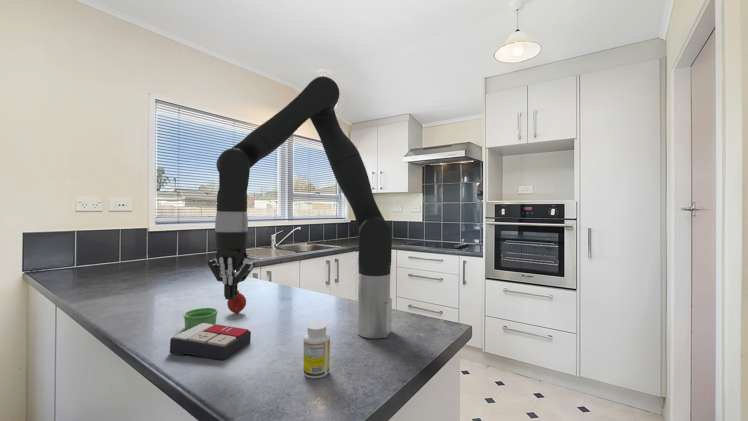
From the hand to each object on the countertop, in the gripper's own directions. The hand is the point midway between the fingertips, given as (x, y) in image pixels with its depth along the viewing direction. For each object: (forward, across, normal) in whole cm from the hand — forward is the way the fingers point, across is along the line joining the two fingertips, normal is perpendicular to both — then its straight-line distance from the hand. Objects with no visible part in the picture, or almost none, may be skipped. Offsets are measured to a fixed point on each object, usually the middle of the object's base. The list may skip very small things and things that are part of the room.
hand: (230, 298), depth 81 cm
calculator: (+11, -3, 0) cm, 11 cm away
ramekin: (+13, +19, -10) cm, 25 cm away
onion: (+13, +17, -23) cm, 31 cm away
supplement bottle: (+13, -26, +4) cm, 29 cm away
